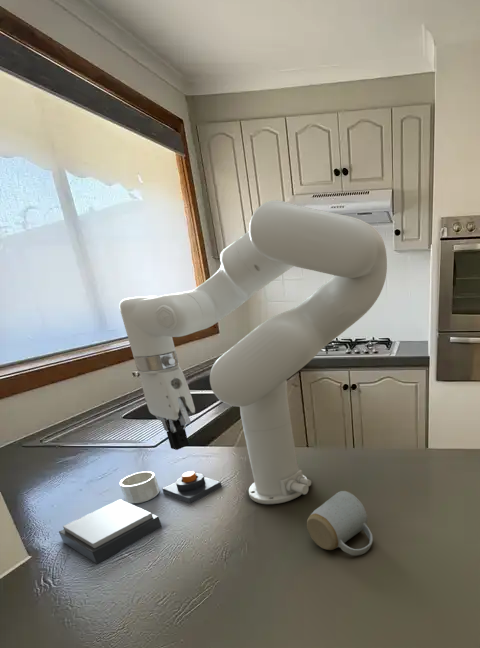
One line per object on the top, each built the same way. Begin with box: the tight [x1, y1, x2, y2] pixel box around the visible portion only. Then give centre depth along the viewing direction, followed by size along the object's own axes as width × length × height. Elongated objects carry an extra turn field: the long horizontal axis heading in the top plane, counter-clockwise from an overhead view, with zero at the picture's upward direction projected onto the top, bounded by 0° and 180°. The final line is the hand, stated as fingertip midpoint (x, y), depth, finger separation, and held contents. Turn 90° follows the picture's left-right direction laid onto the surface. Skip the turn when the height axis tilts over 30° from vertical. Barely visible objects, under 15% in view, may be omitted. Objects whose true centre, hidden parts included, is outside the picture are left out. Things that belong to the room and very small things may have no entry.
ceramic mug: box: [306, 490, 374, 556], centre depth 71 cm, size 11×8×8 cm
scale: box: [58, 498, 162, 565], centre depth 79 cm, size 13×12×4 cm
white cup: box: [119, 470, 161, 504], centre depth 92 cm, size 7×7×5 cm
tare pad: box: [162, 472, 222, 505], centre depth 94 cm, size 10×8×3 cm
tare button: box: [181, 470, 197, 483], centre depth 93 cm, size 3×3×2 cm
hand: (180, 446), depth 90 cm, fingers closed
